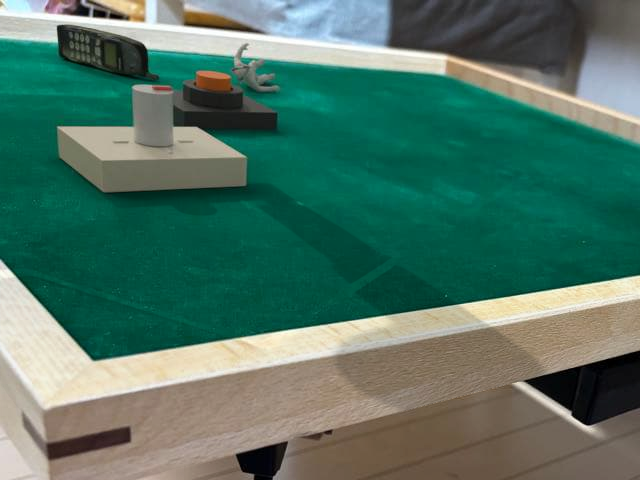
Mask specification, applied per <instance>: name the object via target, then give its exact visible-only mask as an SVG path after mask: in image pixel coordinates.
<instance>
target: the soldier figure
mask: <svg viewBox="0 0 640 480" xmlns="http://www.w3.org/2000/svg"><path fill="white" fill-rule="evenodd" d="M249 46H250V44H249V43H243V44H241V46H240V47H239V48H238V49H237V50H236V53H235V55H234V57H233V65H234V66H233V68H232V67H231V68H229V71H230V72H231V73H232V74H233V75H234V76H235V77H236V80H237V82H238V84H239V85H241V84H242V83H244V84H246V86H247V87H250V88H251V89H252V90H254V91H255V92H256V93H272V92H274V93H275V92H277V91H280V90H281V87H280V86H278V85H272V86H263V84H269V83H270V81H273V80H274V79H275V78H276V74H275V73H270V74H266V73H264V74H261V75H258V74H257V73H256V70H257V69H258V68H260V67H263V66H264V65H265V59H263V58H261V59H259V60H258V61H256V60H255V59H252V60H251V62H248V64H246V63H243V62H242V61H241V59H242V56H243V52H244V51H248V50H249V48H248V47H249Z"/></svg>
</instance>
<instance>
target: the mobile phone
mask: <svg viewBox="0 0 640 480" xmlns="http://www.w3.org/2000/svg"><path fill="white" fill-rule="evenodd" d="M56 37H57V46H58V47H57V48H58V57H60V58H62V59H64V60H67V61H69V62H73V63H77V64H81V65H85V66H87V67H92V68H95V69H98V70H103V71H105V72H109V73H113V74H117V75H124V76H138V77H141V78H142V77H143V78H147V79H151V80H155V81H159V80H160V76H159V74H154V73H152V72H150V71H149V52H148V49H147V46H146V45H145V44H144V43H143V42H141V41H140V40H137V39H134V38H131V37H129V36H126V35H125V36H124V35H121V34H117V33H113V32H109V31H105V30H100V29H97V28H93V27H86V26H81V25H75V24H69V23H68V24H67V23H65V24H64V23H63V24H57V25H56Z"/></svg>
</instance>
